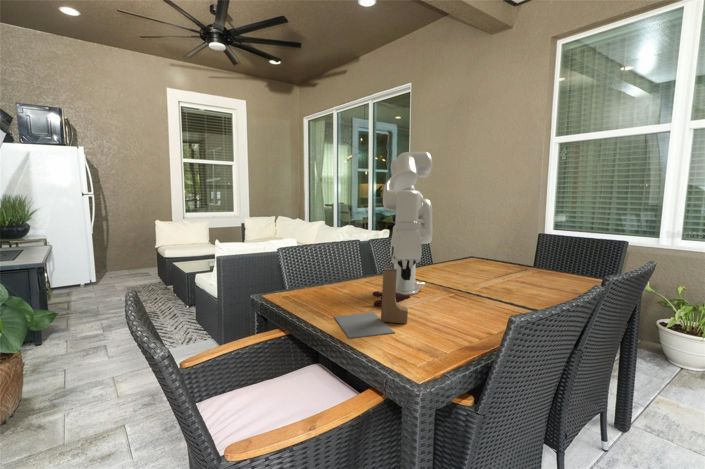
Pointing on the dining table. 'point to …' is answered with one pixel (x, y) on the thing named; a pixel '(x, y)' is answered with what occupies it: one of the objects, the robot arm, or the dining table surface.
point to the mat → (363, 325)
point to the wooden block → (391, 299)
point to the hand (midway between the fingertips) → (405, 279)
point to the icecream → (398, 297)
